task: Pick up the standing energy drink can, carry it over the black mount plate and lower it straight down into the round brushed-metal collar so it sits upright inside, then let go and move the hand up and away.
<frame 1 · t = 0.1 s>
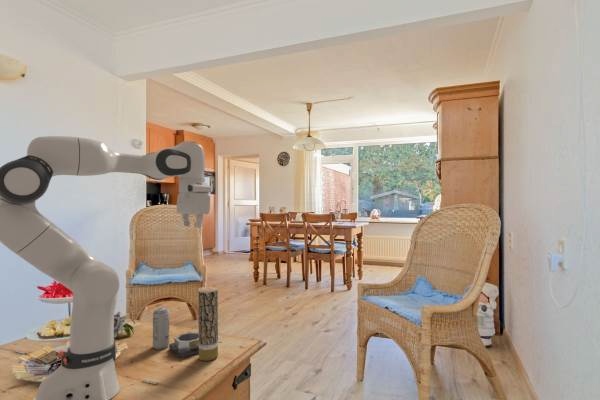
hand: (192, 226, 121), 48 cm above the table, tool pointing down, fingers open, 8 cm apart
energy drink can: (161, 347, 134), on the table
passion flower: (117, 336, 146), on the table
can mount: (188, 349, 131), on the table
bark patterned cylinder: (208, 358, 125), on the table
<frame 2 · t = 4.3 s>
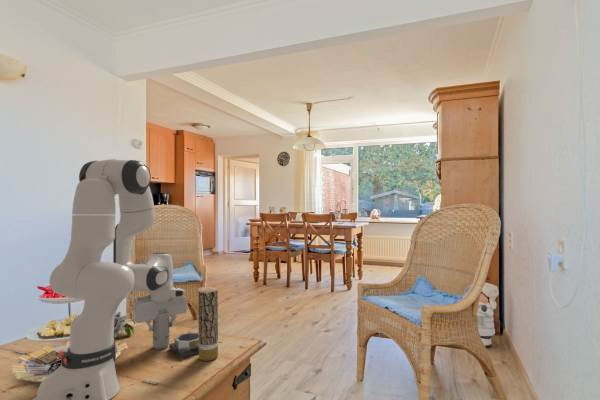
hand: (161, 328, 134), 7 cm above the table, tool pointing down, fingers closed on energy drink can, 6 cm apart
energy drink can: (161, 347, 134), on the table, touching gripper
everything else where it was.
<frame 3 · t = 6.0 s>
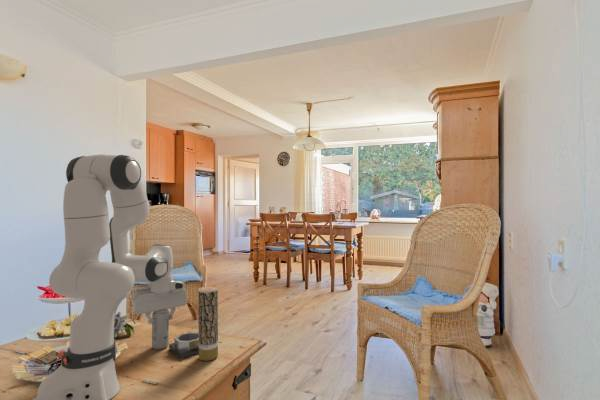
hand: (160, 321, 134), 10 cm above the table, tool pointing down, fingers closed on energy drink can, 6 cm apart
energy drink can: (160, 347, 134), on the table, touching gripper
everything else where it was.
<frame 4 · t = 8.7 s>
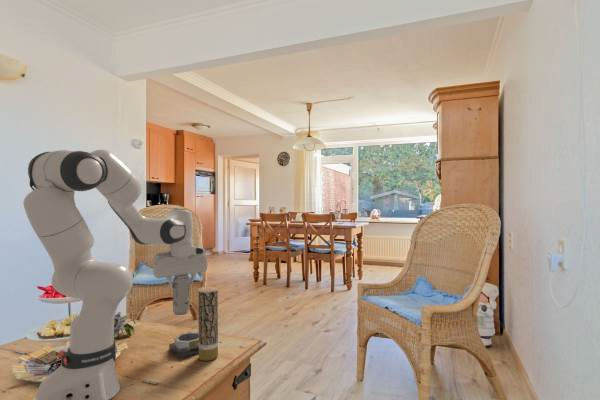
hand: (181, 286, 132), 24 cm above the table, tool pointing down, fingers closed on energy drink can, 6 cm apart
energy drink can: (181, 313, 132), point 14 cm above the table, touching gripper
everything else where it was.
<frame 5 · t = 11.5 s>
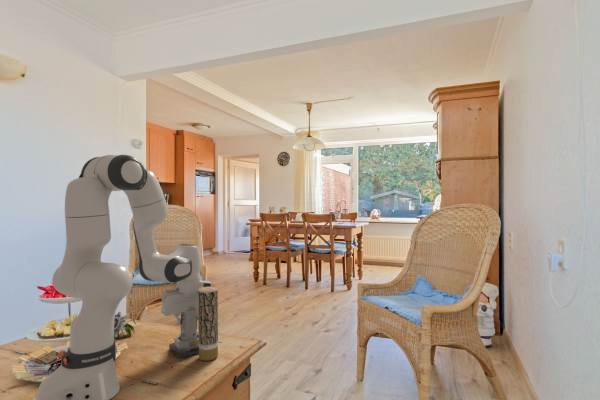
hand: (189, 321, 131), 11 cm above the table, tool pointing down, fingers closed on energy drink can, 6 cm apart
energy drink can: (189, 344, 132), point 2 cm above the table, touching can mount, gripper
everything else where it was.
when the fingers open (10 cm above the table, at t = 12.9 s): energy drink can stays where it is, resting on can mount.
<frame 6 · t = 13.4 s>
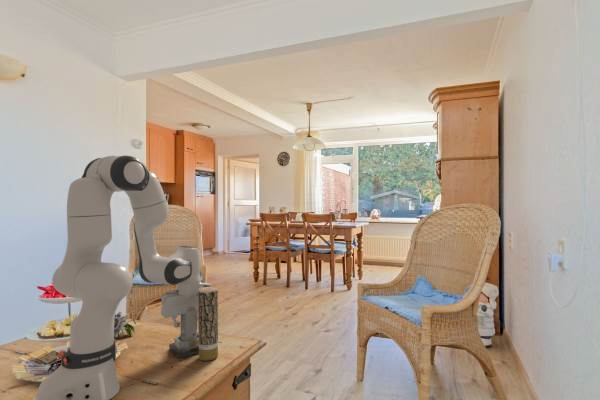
hand: (189, 323, 131), 10 cm above the table, tool pointing down, fingers open, 8 cm apart
energy drink can: (189, 344, 132), point 2 cm above the table, touching can mount
everything else where it was.
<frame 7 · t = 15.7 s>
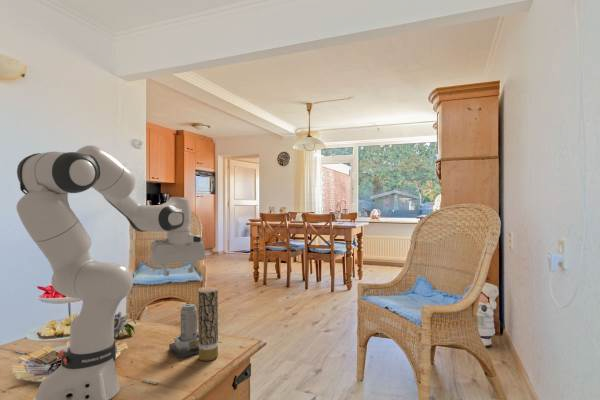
hand: (178, 274, 133), 29 cm above the table, tool pointing down, fingers open, 8 cm apart
nothing on the table moved.
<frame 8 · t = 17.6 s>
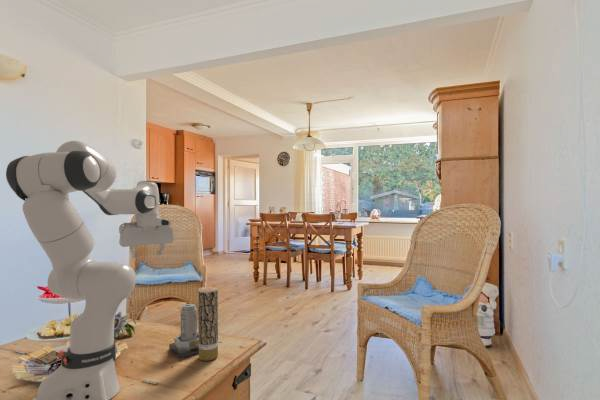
hand: (147, 256, 138), 35 cm above the table, tool pointing down, fingers open, 8 cm apart
nothing on the table moved.
at the end: energy drink can 0.4 cm off-centre on the can mount, point 1.8 cm above the can mount's base; energy drink can tilted 0°; the gripper is holding nothing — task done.
